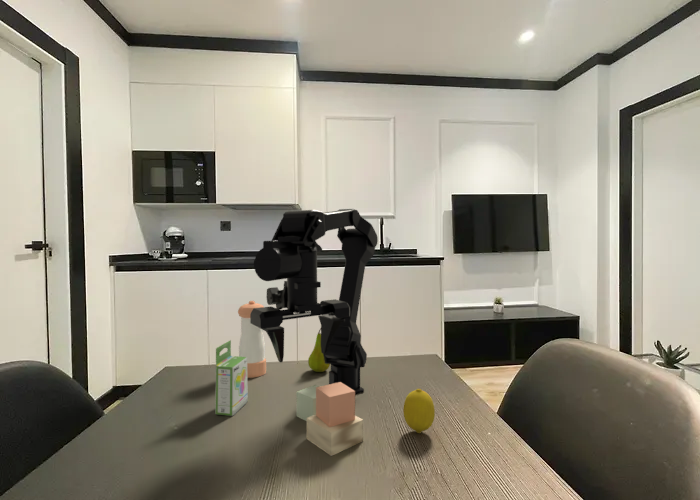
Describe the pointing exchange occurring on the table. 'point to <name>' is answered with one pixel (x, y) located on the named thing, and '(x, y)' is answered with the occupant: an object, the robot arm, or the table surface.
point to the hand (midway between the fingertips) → (302, 357)
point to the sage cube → (306, 402)
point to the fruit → (317, 357)
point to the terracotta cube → (335, 404)
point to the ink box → (230, 381)
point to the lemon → (419, 410)
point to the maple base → (334, 434)
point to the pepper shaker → (252, 342)
